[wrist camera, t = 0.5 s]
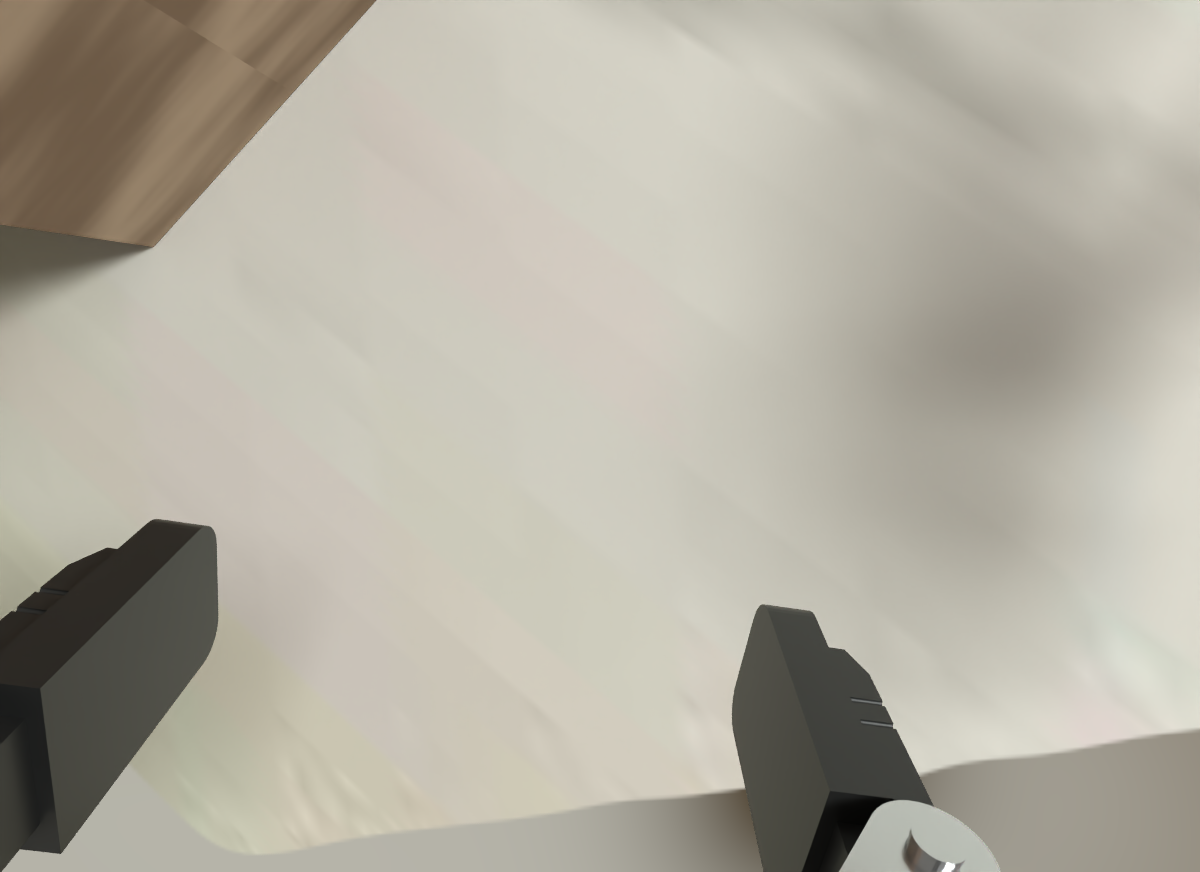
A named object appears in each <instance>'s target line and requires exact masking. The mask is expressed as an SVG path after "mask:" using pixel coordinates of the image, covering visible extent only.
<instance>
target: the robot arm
mask: <svg viewBox="0 0 1200 872" xmlns="http://www.w3.org/2000/svg"><path fill="white" fill-rule="evenodd" d="M217 626H218V583H217V543H216V535H215V532H214V530H213V529H212V528H211V527H209V526H204V525H197V524H189V523H182V522H175V521H168V520H161V519H154V520H152V521H150V522H149V523H147V524H146V525H145V526H144V527H143V528H141V529H140V530H139V531H138V532H137V533H136V534H135V535H133V536H132V537H131V538H130V539H129V540H128V541H126V542H125V543H124V544H123V545H122V546H121V547H120V548H118V549H113V548H105V549H103V550H101V551H99V552H96V553H94V554H92V555H89V556H87V557H85V558H83V559H80V560H78V561H76V562H74V563H71V564H69V565H68V566H66V567H65V568H64V569H63V570H61V571H60V572H59V573H58V574H57V575H55V576H54V577H53V578H52V579H50V580H49V581H48V582H47V583H46V584H44V585H43V586H42V587H41V589H40V592H34V593H33V594H32V595H31V596H30V597H28V598H27V599H26V600H25V601H23V602H22V603H21V604H20V605H19V606H17V611H16V612H13V611H11V612H10V613H9V614H8V615H6V616H5V617H4V618H3V619H1V620H0V872H2V870H3V869H4V868H5V867H6V865H7V864H8V863H9V862H10V860H11V859H12V858H13V857H14V856H15V854H16V853H17V852H18V851H19V849H23V850H33V851H41V852H50V853H59V854H61V853H62V852H63V850H64V849H65V848H66V847H67V845H68V844H69V842H70V841H71V840H72V838H73V837H74V836H75V834H76V833H77V832H78V830H79V829H80V828H81V826H82V825H83V824H84V822H85V821H86V820H87V818H88V817H89V816H90V814H91V813H92V812H93V810H94V809H95V807H96V806H97V805H98V804H99V802H100V801H101V800H102V798H103V797H104V796H105V794H106V793H107V792H108V790H109V789H110V788H111V786H112V785H113V784H114V782H115V781H116V780H117V778H118V777H119V775H120V774H121V773H122V772H123V770H124V769H125V767H126V766H127V765H128V763H129V762H130V761H131V759H132V758H133V757H134V755H135V754H136V753H137V751H138V750H139V749H140V747H141V746H142V745H143V743H144V742H145V741H146V739H147V738H148V737H149V735H150V734H151V733H152V731H153V730H154V729H155V727H156V726H157V725H158V723H159V722H160V721H161V719H162V718H163V717H164V715H165V714H166V713H167V711H168V710H169V709H170V707H171V706H172V705H173V703H174V702H175V700H176V699H177V698H178V696H179V695H180V694H181V692H182V691H183V690H184V688H185V687H186V686H187V684H188V683H189V682H190V680H191V679H192V678H193V676H194V675H195V674H196V672H197V671H198V670H199V668H200V667H201V666H202V664H203V663H204V661H205V660H206V658H207V656H208V655H209V652H210V650H211V648H212V645H213V642H214V639H215V635H216V631H217ZM732 725H733V733H734V737H735V742H736V747H737V751H738V756H739V760H740V765H741V770H742V774H743V779H744V784H745V788H746V793H747V797H748V802H749V806H750V811H751V816H752V820H753V825H754V830H755V834H756V839H757V843H758V848H759V853H760V857H761V862H762V866H763V871H764V872H1001V871H1000V868H999V865H998V863H997V861H996V859H995V857H994V856H993V854H992V853H991V851H990V850H989V848H988V847H987V846H986V844H985V843H984V842H983V841H982V840H981V839H980V838H979V837H978V836H977V835H976V834H975V833H974V832H973V831H972V830H971V829H970V828H968V827H967V826H966V825H965V824H963V823H962V822H961V821H959V820H958V819H956V818H955V817H953V816H951V815H950V814H948V813H946V812H944V811H942V810H940V809H938V808H935V807H934V806H933V804H932V802H931V800H930V798H929V795H928V794H927V791H926V789H925V787H924V785H923V783H922V781H921V780H920V777H919V775H918V773H917V771H916V769H915V767H914V765H913V763H912V761H911V759H910V757H909V755H908V753H907V750H906V748H905V746H904V744H903V742H902V740H901V738H900V736H899V734H898V732H897V730H896V729H893V722H892V720H891V718H890V716H889V714H888V712H887V710H886V708H885V707H884V706H882V699H881V697H880V695H879V693H878V691H877V689H876V687H875V685H874V683H873V681H872V679H871V677H870V675H869V674H868V673H867V672H866V671H865V670H864V669H863V668H862V667H861V666H860V665H859V664H858V663H857V662H856V661H855V660H854V659H853V658H852V657H851V656H850V655H849V654H848V653H847V652H846V651H845V650H843V649H836V648H829V647H828V645H827V643H826V640H825V638H824V636H823V633H822V631H821V629H820V626H819V624H818V622H817V620H816V617H815V615H814V614H813V613H812V612H811V611H807V610H799V609H792V608H785V607H778V606H771V605H761V606H759V608H758V609H757V611H756V614H755V617H754V620H753V623H752V627H751V631H750V634H749V638H748V642H747V645H746V649H745V653H744V656H743V660H742V664H741V667H740V671H739V675H738V678H737V682H736V686H735V690H734V696H733V705H732Z"/></svg>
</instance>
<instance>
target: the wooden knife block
mask: <svg viewBox="0 0 1200 872" xmlns="http://www.w3.org/2000/svg"><path fill="white" fill-rule="evenodd" d="M375 1H376V0H0V225H6V226H13V227H20V228H27V229H34V230H41V231H47V232H54V233H61V234H68V235H75V236H82V237H88V238H95V239H102V240H109V241H116V242H123V243H129V244H136V245H143V246H150V247H154V246H155V245H156V244H157V243H158V241H159V240H160V239H161V238H162V237H163V236H164V235H165V234H166V233H167V231H168V230H169V229H170V228H171V227H172V226H173V225H174V224H175V223H176V222H177V220H178V219H179V218H180V217H181V216H182V215H183V214H184V213H185V212H186V210H187V209H188V208H189V207H190V206H191V205H192V204H193V203H194V202H195V200H196V199H197V198H198V197H199V196H200V195H201V194H202V193H203V192H204V190H205V189H206V188H207V187H208V186H209V185H210V184H211V183H212V182H213V181H214V179H215V178H216V177H217V176H218V175H219V174H220V173H221V172H222V171H223V169H224V168H225V167H226V166H227V165H228V164H229V163H230V162H231V161H232V159H233V158H234V157H235V156H236V155H237V154H238V153H239V152H240V151H241V149H242V148H243V147H244V146H245V145H246V144H247V143H248V142H249V141H250V140H251V138H252V137H253V136H254V135H255V134H256V133H257V132H258V131H259V130H260V128H261V127H262V126H263V125H264V124H265V123H266V122H267V121H268V120H269V118H270V117H271V116H272V115H273V114H274V113H275V112H276V111H277V110H278V109H279V107H280V106H281V105H282V104H283V103H284V102H285V101H286V100H287V99H288V97H289V96H290V95H291V94H292V93H293V92H294V91H295V90H296V89H297V87H298V86H299V85H300V84H301V83H302V82H303V81H304V80H305V79H306V77H307V76H308V75H309V74H310V73H311V72H312V71H313V70H314V69H315V68H316V66H317V65H318V64H319V63H320V62H321V61H322V60H323V59H324V58H325V56H326V55H327V54H328V53H329V52H330V51H331V50H332V49H333V48H334V46H335V45H336V44H337V43H338V42H339V41H340V40H341V39H342V38H343V36H344V35H345V34H346V33H347V32H348V31H349V30H350V29H351V28H352V27H353V25H354V24H355V23H356V22H357V21H358V20H359V19H360V18H361V17H362V15H363V14H364V13H365V12H366V11H367V10H368V9H369V8H370V7H371V5H372V4H373V3H374V2H375Z"/></svg>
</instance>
